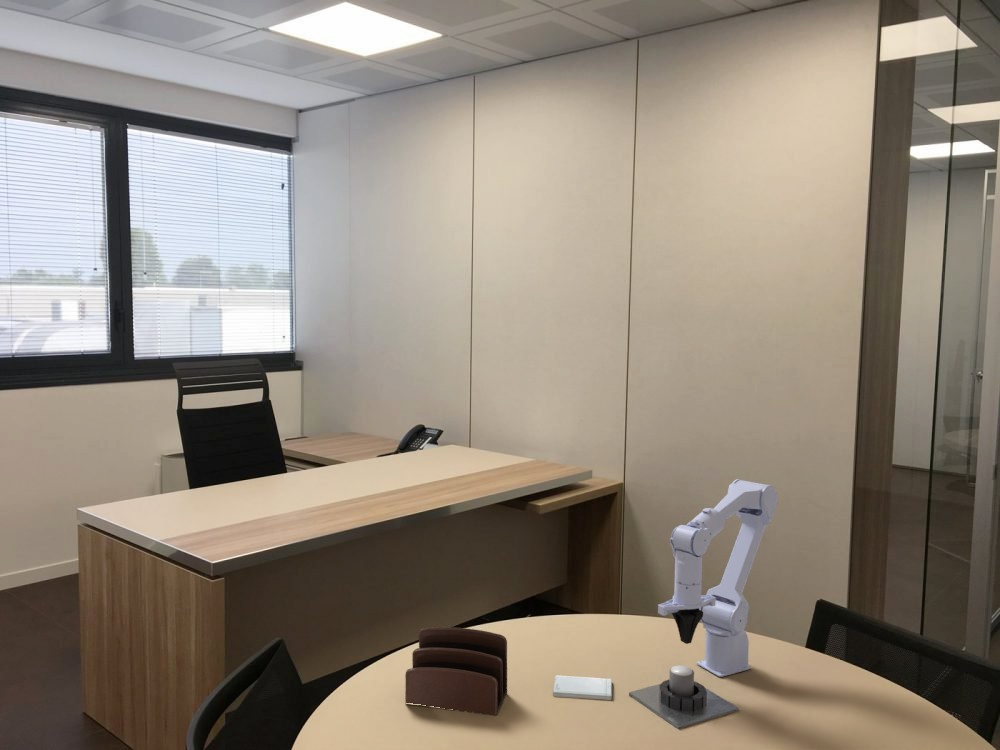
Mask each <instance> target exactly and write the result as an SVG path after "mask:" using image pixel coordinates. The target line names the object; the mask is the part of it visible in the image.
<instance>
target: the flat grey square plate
mask: <svg viewBox="0 0 1000 750" xmlns="http://www.w3.org/2000/svg"><path fill="white" fill-rule="evenodd" d="M628 696H629V697H631V698H632V699H634V700H636V701H637V702H638V703H640V704H641V705H643V706H644V707H646V708H647V709H648V710H650V711H651V712H653V713H654V714H655V715H657V716H658V717H659V718H661V719H663V720H665V722H667V723H669V724H670V725H672V726H673V727H674V728H676V729H677V730H679V729H682V728H686V727H689V726H693V725H695V724H698V723H702V722H706V721H709V720H713V719H715V718H718V717H721V716H724V715H729V714H731V713H735V712H738V711H739V710H740V708H739V707H738V706H736V705H735V704H733V703H731V702H730V701H728V700H726V699H725V698H723V697H722V696H720V695H718V694H717V693H715V692H713V691H711V690H710V689H708V688H707V687H705V686H704V685H702V684H701V683H699V682H697V681H695V680H694V695H693V696H679V695H675V694H673V693H671V692H670V679H667V680H664V681H662V682H661V683H659V684H655V685H651V686H648V687H644V688H639V689H638V690H633V691H629V692H628Z"/></svg>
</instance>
